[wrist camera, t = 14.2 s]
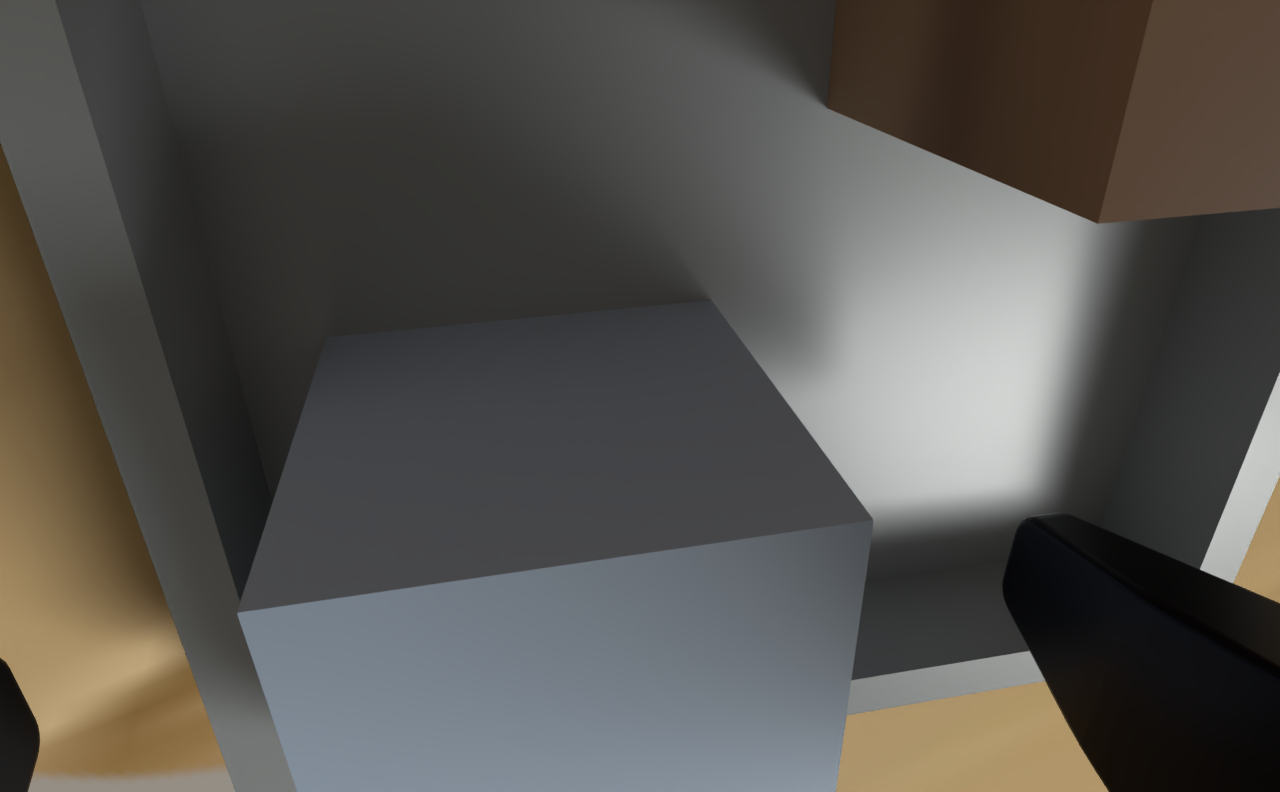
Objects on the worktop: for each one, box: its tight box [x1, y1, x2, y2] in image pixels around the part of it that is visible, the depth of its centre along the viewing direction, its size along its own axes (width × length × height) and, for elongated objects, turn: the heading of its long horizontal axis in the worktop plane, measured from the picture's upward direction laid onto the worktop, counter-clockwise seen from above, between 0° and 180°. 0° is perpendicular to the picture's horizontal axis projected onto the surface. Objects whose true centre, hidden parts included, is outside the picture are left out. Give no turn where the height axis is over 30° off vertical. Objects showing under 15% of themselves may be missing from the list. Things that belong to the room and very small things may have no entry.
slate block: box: [237, 300, 874, 792], centre depth 8 cm, size 4×4×4 cm
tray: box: [0, 0, 1280, 792], centre depth 8 cm, size 12×12×2 cm
